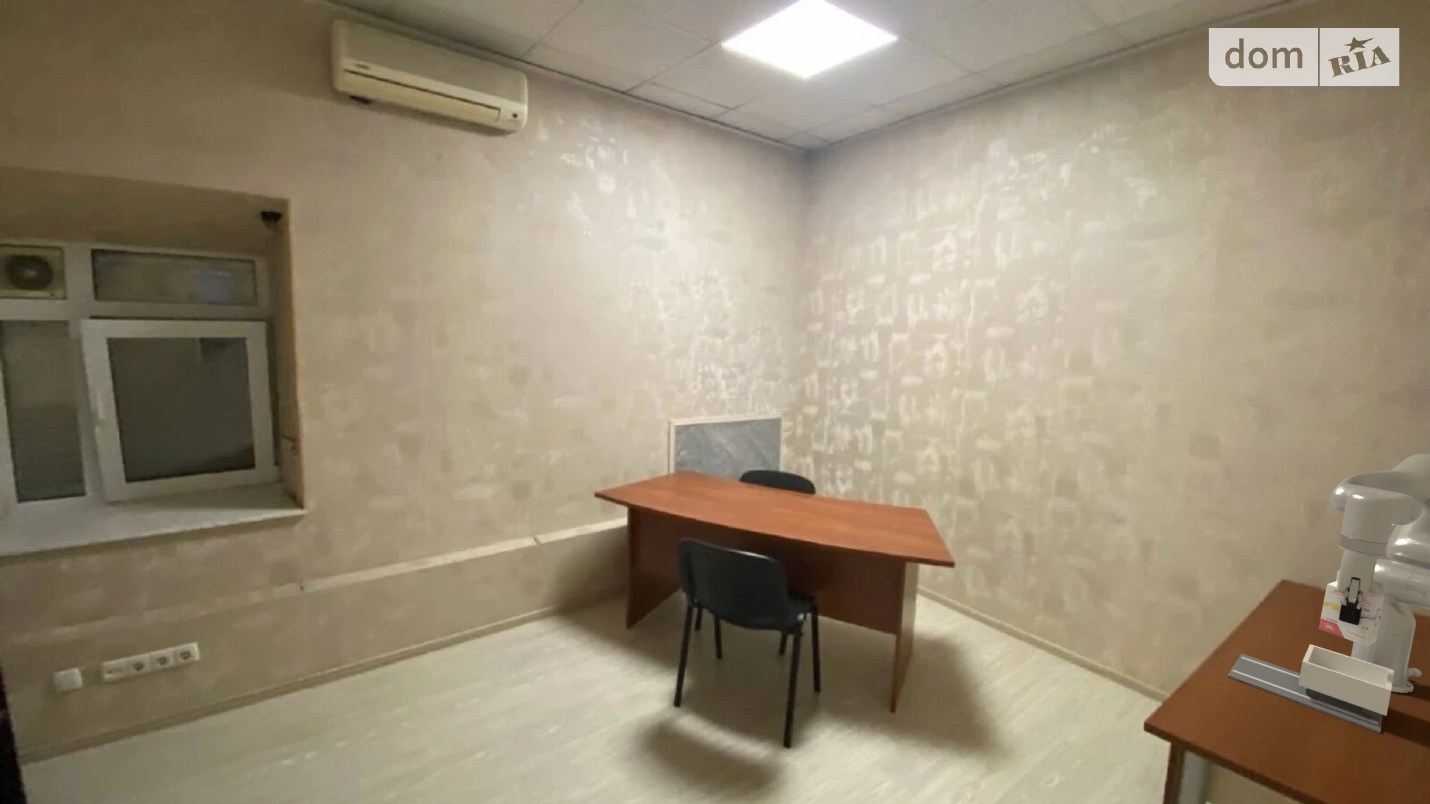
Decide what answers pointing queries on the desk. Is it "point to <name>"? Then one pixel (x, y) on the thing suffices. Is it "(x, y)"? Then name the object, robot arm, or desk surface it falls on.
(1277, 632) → the desk surface
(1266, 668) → the mat
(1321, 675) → the white open box
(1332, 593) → the ink cartridge box
